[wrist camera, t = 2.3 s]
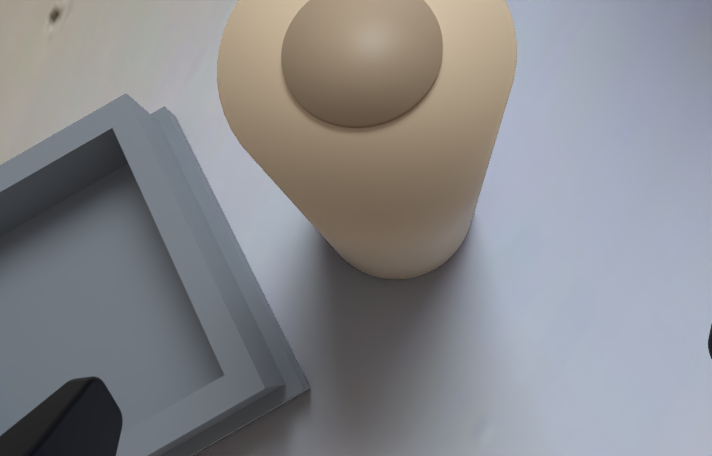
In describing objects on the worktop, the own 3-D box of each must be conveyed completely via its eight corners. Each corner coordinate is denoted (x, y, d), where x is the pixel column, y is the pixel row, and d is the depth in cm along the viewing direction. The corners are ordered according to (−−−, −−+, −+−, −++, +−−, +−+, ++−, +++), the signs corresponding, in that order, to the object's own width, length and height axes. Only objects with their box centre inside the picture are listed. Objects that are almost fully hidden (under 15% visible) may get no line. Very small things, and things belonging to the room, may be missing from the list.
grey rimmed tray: (310, 388, 20) (286, 395, 17) (8, 560, 20) (-77, 602, 17) (175, 116, 24) (132, 76, 20) (-82, 263, 24) (-167, 248, 20)
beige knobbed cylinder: (382, 311, 20) (327, 261, 10) (293, 194, 22) (161, 38, 11) (505, 215, 21) (587, 61, 10) (408, 106, 22) (388, -130, 11)
